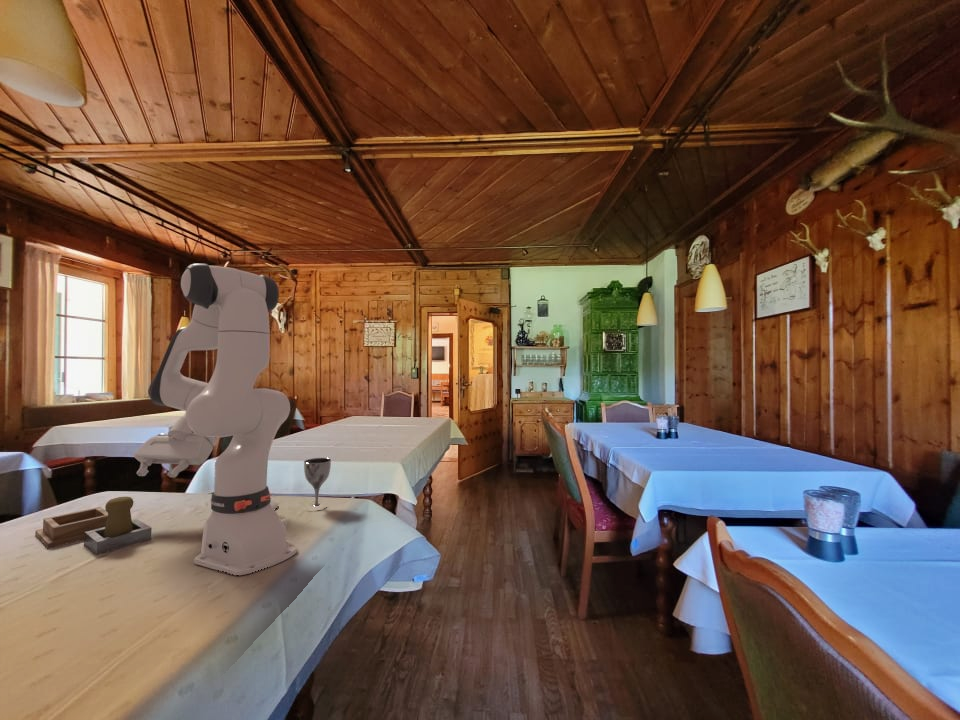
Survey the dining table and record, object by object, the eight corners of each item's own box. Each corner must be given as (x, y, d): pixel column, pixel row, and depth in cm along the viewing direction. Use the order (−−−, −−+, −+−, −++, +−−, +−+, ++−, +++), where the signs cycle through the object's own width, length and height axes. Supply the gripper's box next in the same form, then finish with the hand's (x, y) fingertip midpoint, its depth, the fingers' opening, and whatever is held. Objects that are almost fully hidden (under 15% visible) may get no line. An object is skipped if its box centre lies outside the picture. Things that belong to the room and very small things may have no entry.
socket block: (151, 539, 99) (151, 527, 99) (96, 555, 90) (97, 542, 90) (136, 530, 104) (137, 519, 104) (83, 544, 96) (84, 532, 96)
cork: (113, 548, 94) (115, 502, 94) (94, 545, 95) (96, 500, 95) (140, 538, 100) (142, 495, 100) (121, 535, 101) (123, 493, 101)
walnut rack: (119, 530, 104) (119, 514, 104) (48, 548, 93) (48, 530, 93) (102, 519, 112) (103, 504, 112) (35, 534, 101) (36, 518, 101)
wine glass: (304, 504, 126) (305, 458, 126) (330, 502, 128) (331, 457, 129) (301, 513, 118) (302, 464, 119) (328, 510, 121) (329, 462, 121)
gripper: (149, 427, 116) (113, 468, 106) (211, 429, 114) (181, 470, 104) (162, 439, 120) (129, 480, 110) (222, 441, 118) (195, 482, 108)
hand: (155, 475), depth 107 cm, fingers open, 8 cm apart
